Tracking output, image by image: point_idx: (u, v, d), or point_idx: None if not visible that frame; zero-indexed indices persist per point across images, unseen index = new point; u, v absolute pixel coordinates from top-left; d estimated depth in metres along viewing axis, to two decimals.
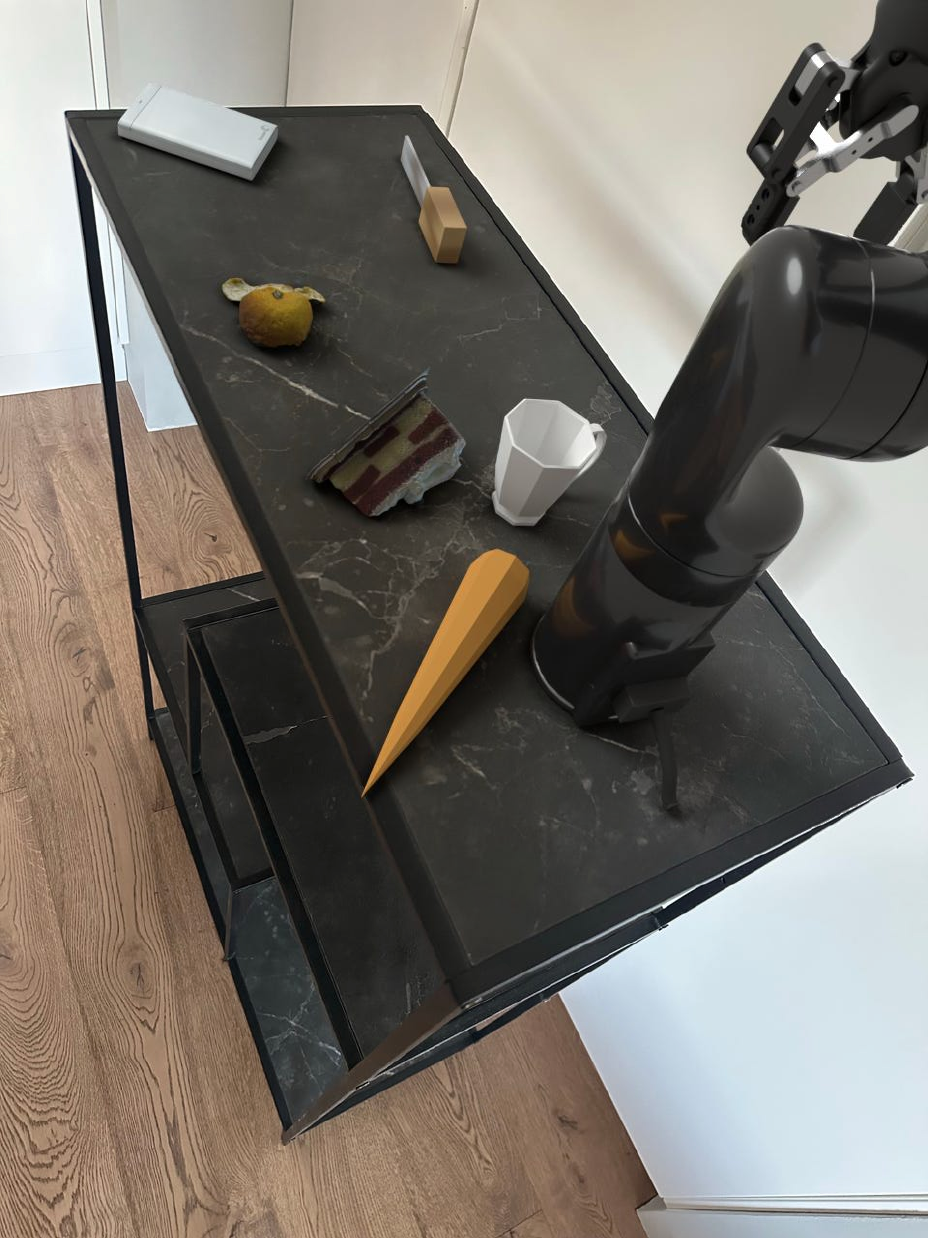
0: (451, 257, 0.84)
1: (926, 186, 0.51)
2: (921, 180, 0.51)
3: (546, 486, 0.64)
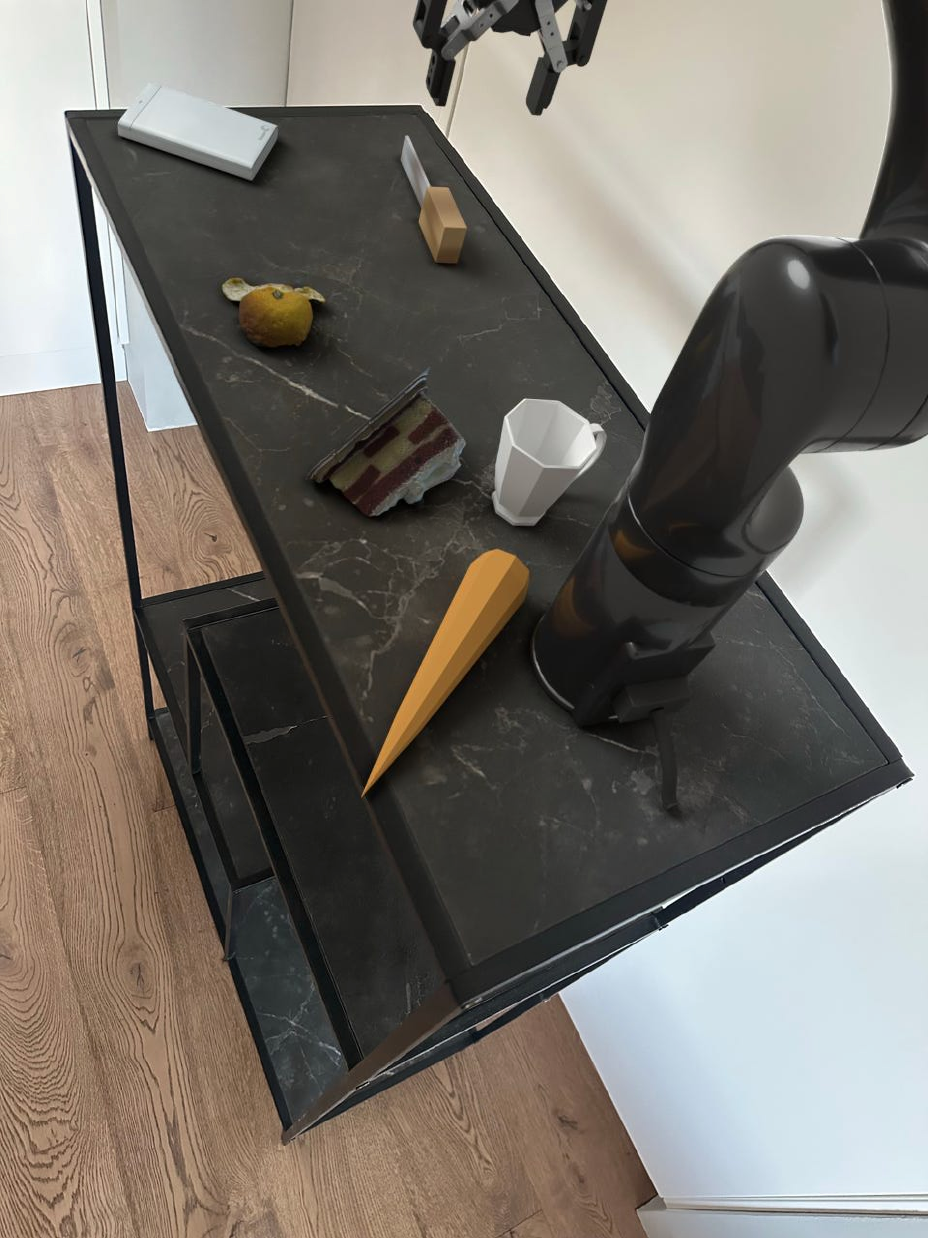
0: (451, 257, 0.84)
1: (557, 57, 0.71)
2: (550, 52, 0.70)
3: (546, 486, 0.64)
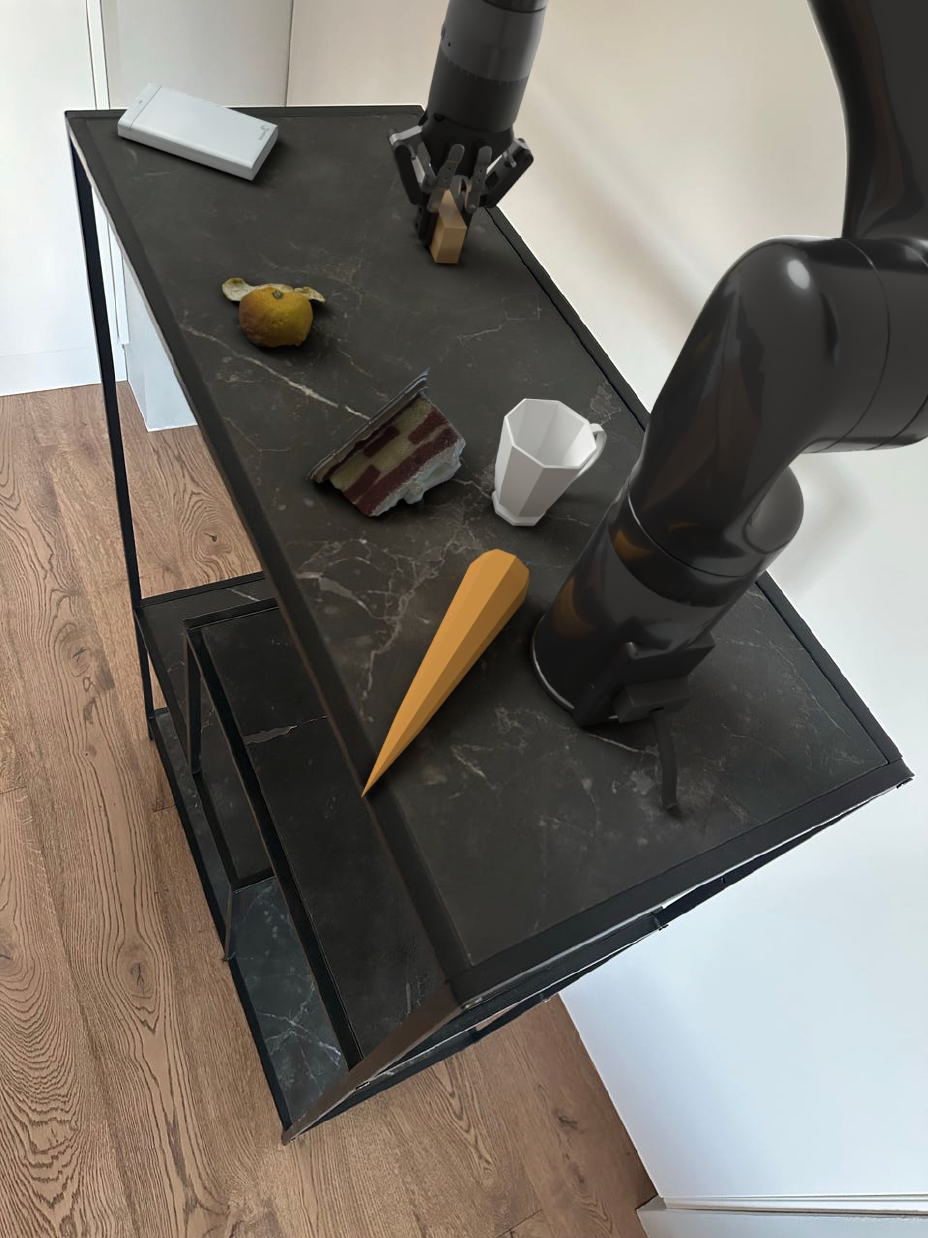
0: (451, 257, 0.84)
1: (472, 201, 0.81)
2: (469, 194, 0.81)
3: (546, 486, 0.64)
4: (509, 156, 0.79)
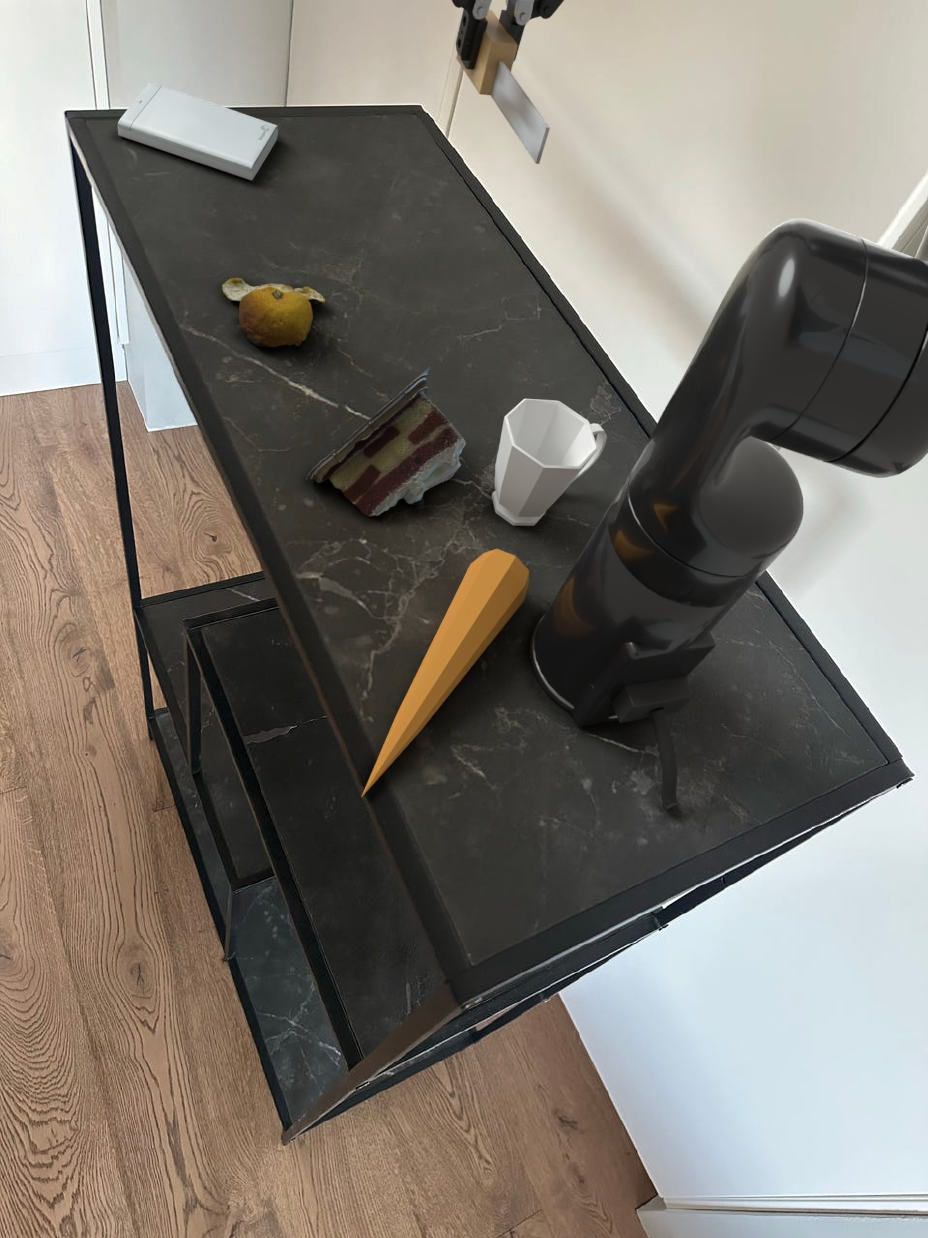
0: None
1: None
2: None
3: (546, 486, 0.64)
4: None
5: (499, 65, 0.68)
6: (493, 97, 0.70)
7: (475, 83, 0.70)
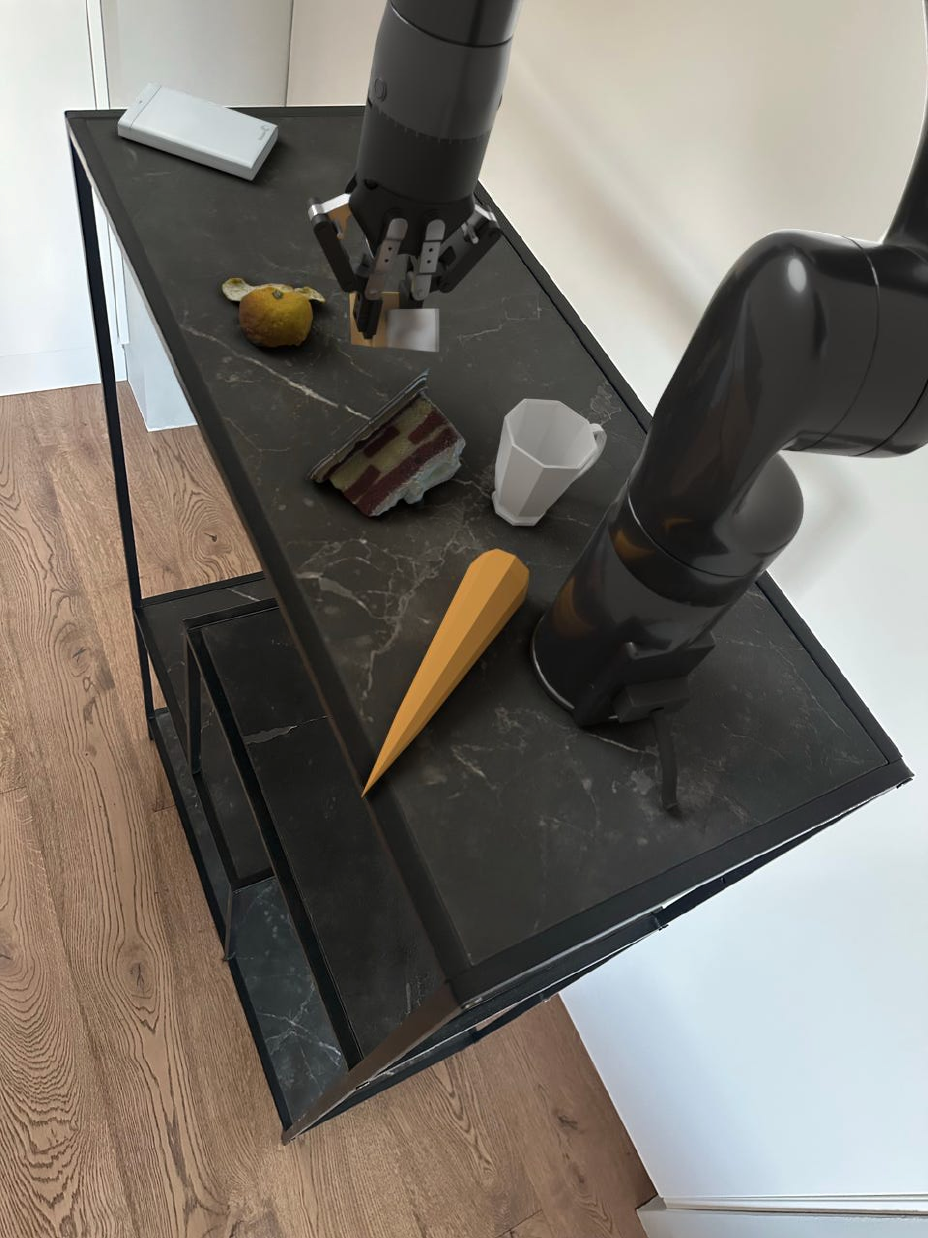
0: None
1: None
2: None
3: (546, 486, 0.64)
4: None
5: (386, 313, 0.64)
6: (388, 345, 0.65)
7: (368, 342, 0.66)
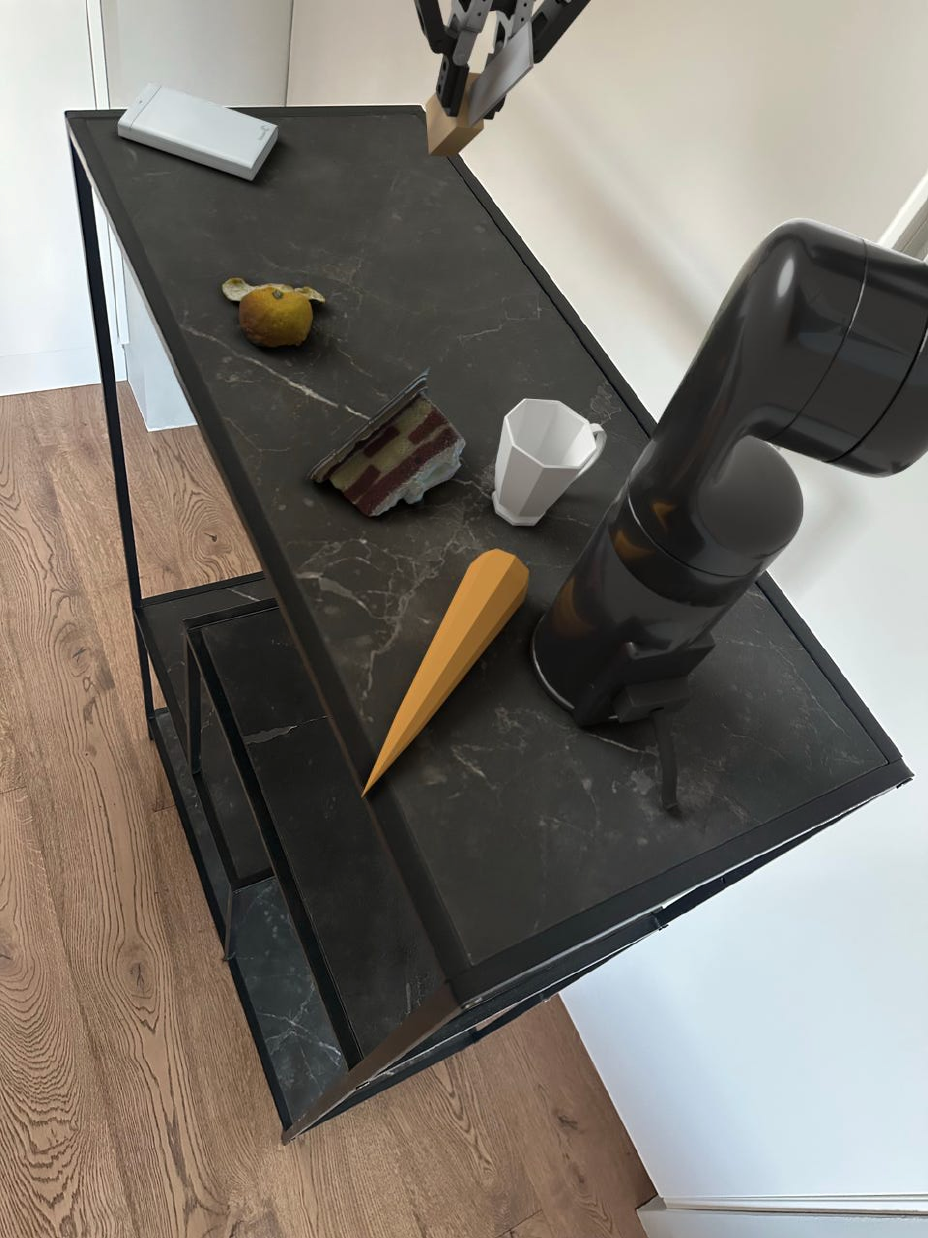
0: None
1: None
2: None
3: (546, 486, 0.64)
4: None
5: (468, 91, 0.65)
6: (471, 122, 0.65)
7: (450, 128, 0.66)
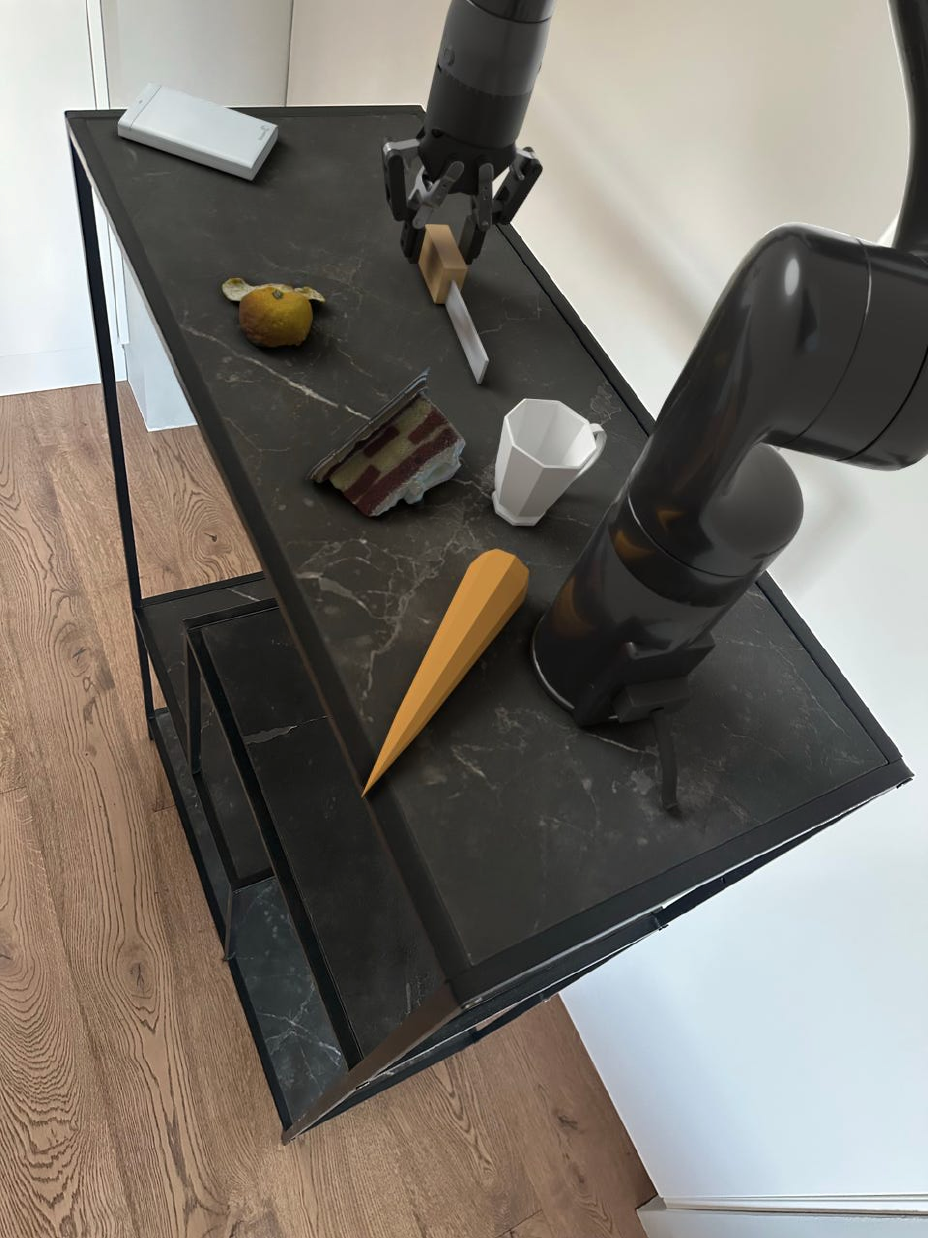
0: None
1: None
2: None
3: (546, 486, 0.64)
4: None
5: (451, 284, 0.79)
6: (446, 307, 0.80)
7: (431, 292, 0.81)
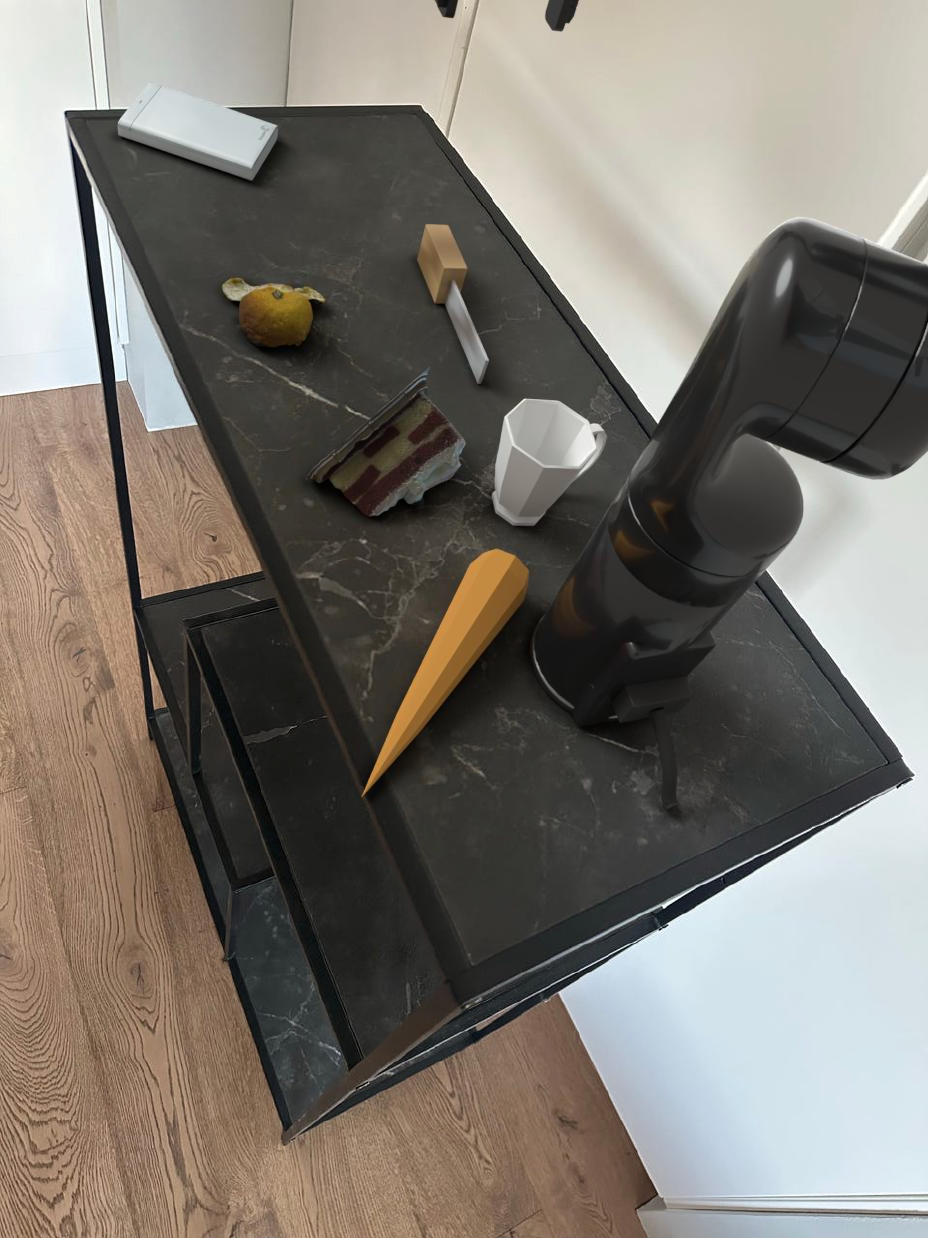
0: None
1: None
2: None
3: (546, 486, 0.64)
4: None
5: (451, 284, 0.79)
6: (446, 307, 0.80)
7: (431, 292, 0.81)
